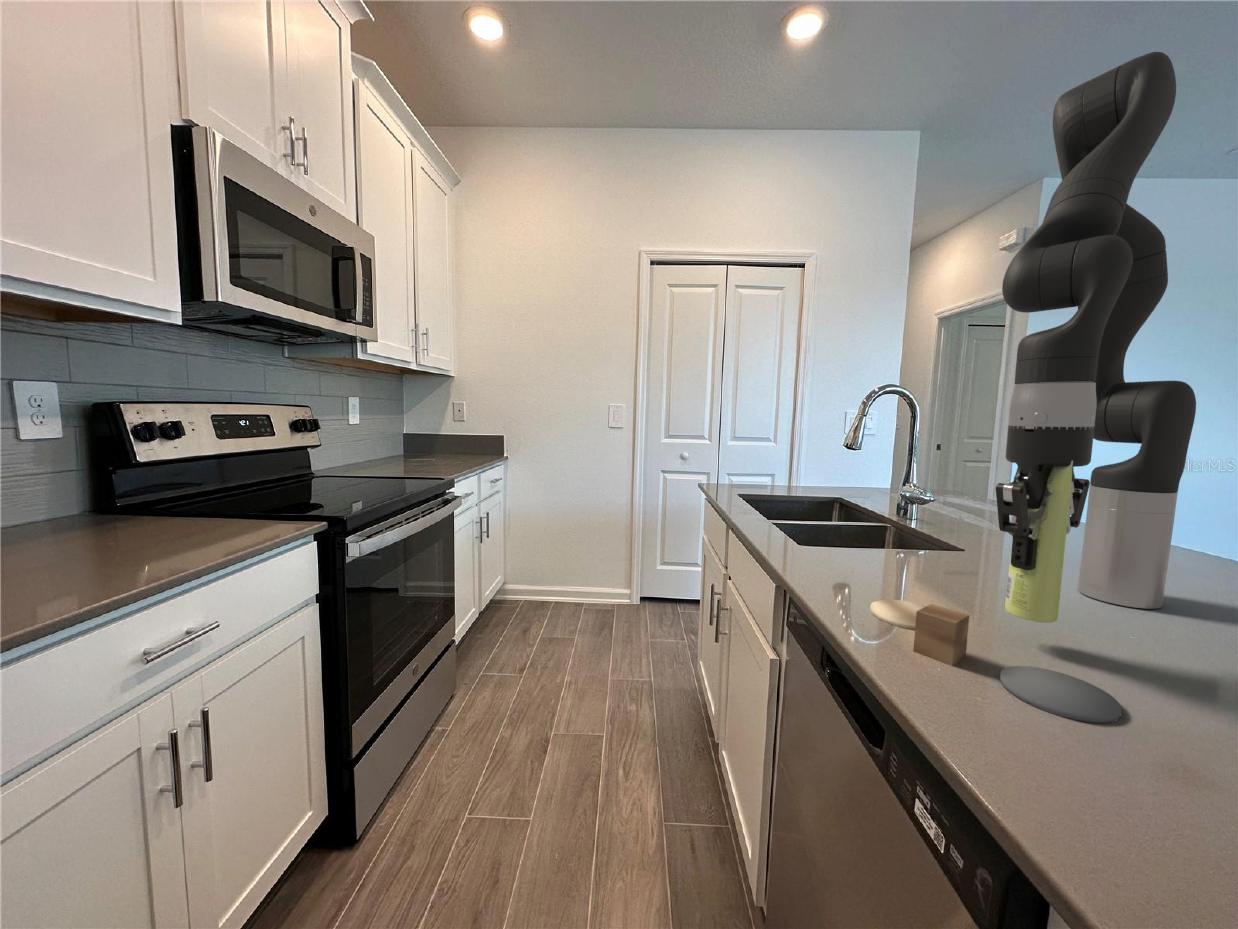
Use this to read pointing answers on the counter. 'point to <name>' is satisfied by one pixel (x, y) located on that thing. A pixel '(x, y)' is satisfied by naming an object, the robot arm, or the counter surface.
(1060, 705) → the pad
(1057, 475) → the tube
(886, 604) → the pad
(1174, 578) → the counter surface
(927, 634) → the walnut block
